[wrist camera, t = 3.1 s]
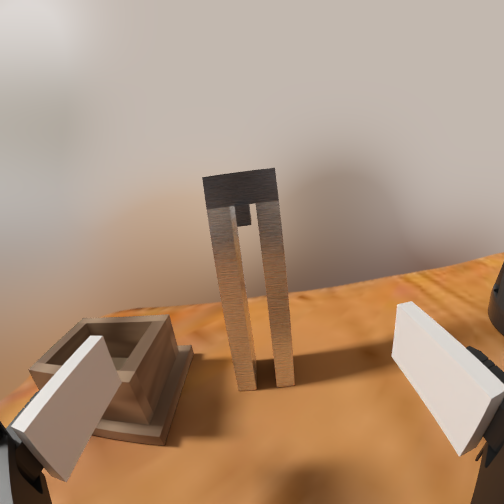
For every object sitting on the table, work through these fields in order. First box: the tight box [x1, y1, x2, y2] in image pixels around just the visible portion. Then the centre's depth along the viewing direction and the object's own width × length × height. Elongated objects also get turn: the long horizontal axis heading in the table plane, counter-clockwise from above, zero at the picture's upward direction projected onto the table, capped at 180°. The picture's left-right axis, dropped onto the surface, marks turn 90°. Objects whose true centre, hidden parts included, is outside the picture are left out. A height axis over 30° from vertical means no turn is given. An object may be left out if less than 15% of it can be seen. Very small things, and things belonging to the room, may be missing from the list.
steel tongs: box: [203, 168, 295, 391], centre depth 20 cm, size 4×6×16 cm
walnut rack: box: [29, 314, 194, 445], centre depth 20 cm, size 12×12×5 cm
